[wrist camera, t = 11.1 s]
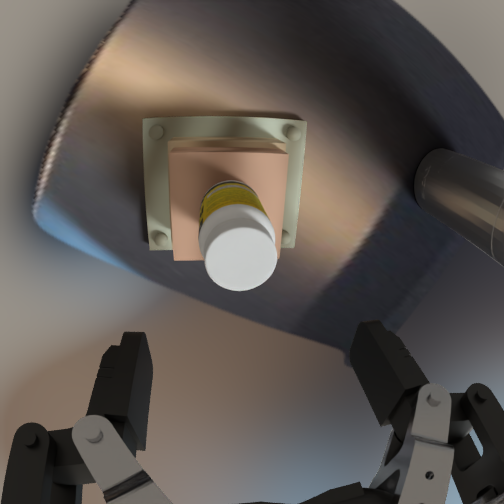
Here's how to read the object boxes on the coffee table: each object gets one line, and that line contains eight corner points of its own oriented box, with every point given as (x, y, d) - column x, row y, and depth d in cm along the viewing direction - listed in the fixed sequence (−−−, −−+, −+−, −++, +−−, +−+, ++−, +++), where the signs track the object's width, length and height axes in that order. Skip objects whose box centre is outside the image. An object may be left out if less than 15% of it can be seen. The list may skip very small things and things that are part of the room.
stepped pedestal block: (303, 120, 29) (334, 127, 22) (291, 243, 35) (313, 281, 28) (145, 118, 27) (123, 123, 19) (151, 245, 33) (138, 285, 26)
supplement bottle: (191, 191, 23) (183, 236, 15) (249, 170, 23) (271, 206, 15) (212, 244, 25) (215, 306, 18) (267, 225, 25) (293, 281, 18)
